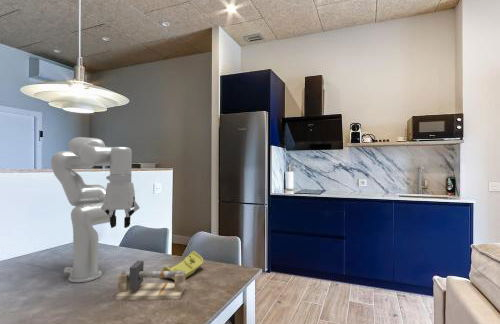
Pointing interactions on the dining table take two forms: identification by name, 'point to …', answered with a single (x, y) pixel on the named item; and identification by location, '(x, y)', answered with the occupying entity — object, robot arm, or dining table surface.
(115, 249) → the dining table surface
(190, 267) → the plastic component
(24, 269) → the dining table surface
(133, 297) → the pipe stand
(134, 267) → the collar
